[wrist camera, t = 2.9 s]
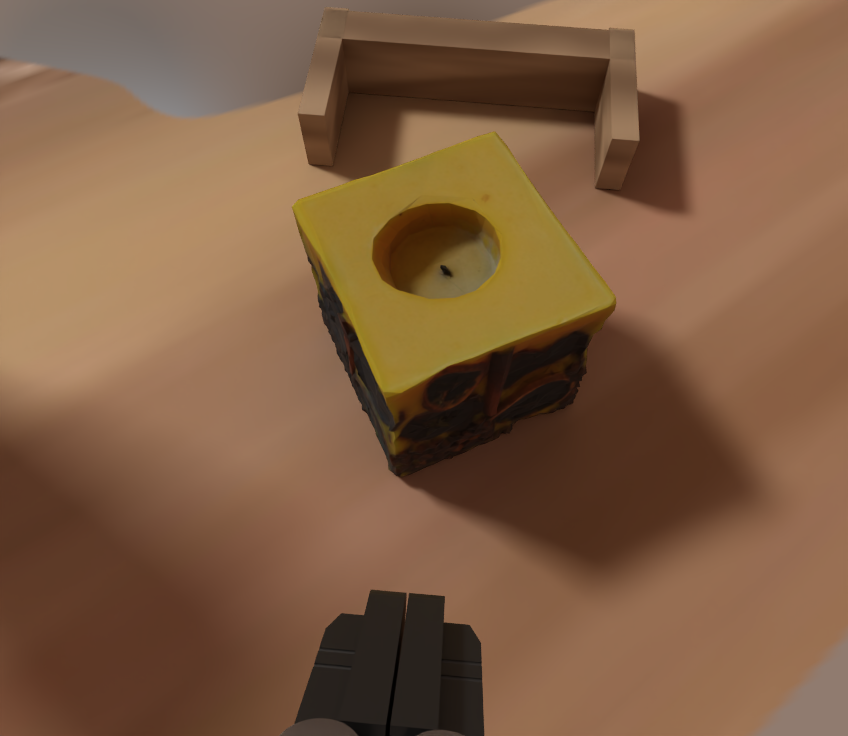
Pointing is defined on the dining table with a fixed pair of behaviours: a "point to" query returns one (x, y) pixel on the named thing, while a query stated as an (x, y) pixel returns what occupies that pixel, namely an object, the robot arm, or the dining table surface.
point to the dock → (474, 74)
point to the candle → (451, 298)
